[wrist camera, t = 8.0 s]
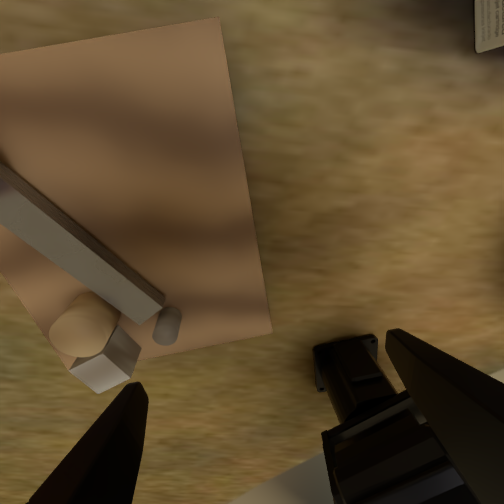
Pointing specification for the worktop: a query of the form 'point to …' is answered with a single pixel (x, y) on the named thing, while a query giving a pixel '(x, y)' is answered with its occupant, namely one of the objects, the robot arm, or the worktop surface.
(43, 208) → the lever
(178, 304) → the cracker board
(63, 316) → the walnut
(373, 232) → the worktop surface
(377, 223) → the worktop surface
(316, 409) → the worktop surface
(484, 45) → the ink box
